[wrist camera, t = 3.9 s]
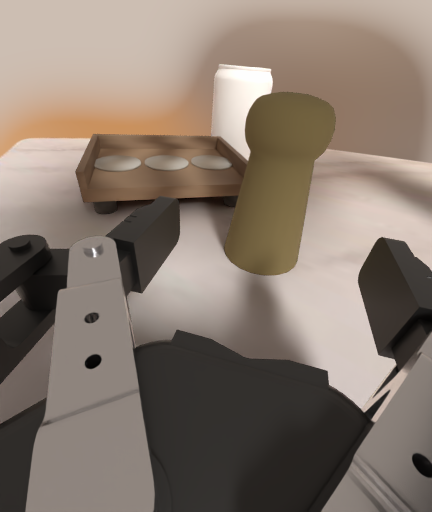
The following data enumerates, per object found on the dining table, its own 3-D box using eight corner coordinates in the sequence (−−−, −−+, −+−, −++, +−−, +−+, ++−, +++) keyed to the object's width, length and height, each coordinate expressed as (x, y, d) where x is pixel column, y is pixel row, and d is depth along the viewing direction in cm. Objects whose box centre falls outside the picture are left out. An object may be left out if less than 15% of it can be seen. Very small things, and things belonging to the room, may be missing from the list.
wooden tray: (218, 167, 37) (220, 136, 34) (250, 207, 27) (256, 168, 24) (100, 169, 33) (93, 134, 30) (87, 217, 23) (75, 171, 20)
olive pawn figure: (210, 242, 21) (221, 86, 15) (263, 225, 24) (292, 89, 17) (256, 286, 17) (300, 101, 11) (313, 260, 20) (375, 101, 14)
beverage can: (268, 159, 42) (285, 70, 34) (240, 169, 37) (253, 67, 29) (230, 148, 46) (238, 66, 38) (199, 156, 40) (202, 62, 33)
